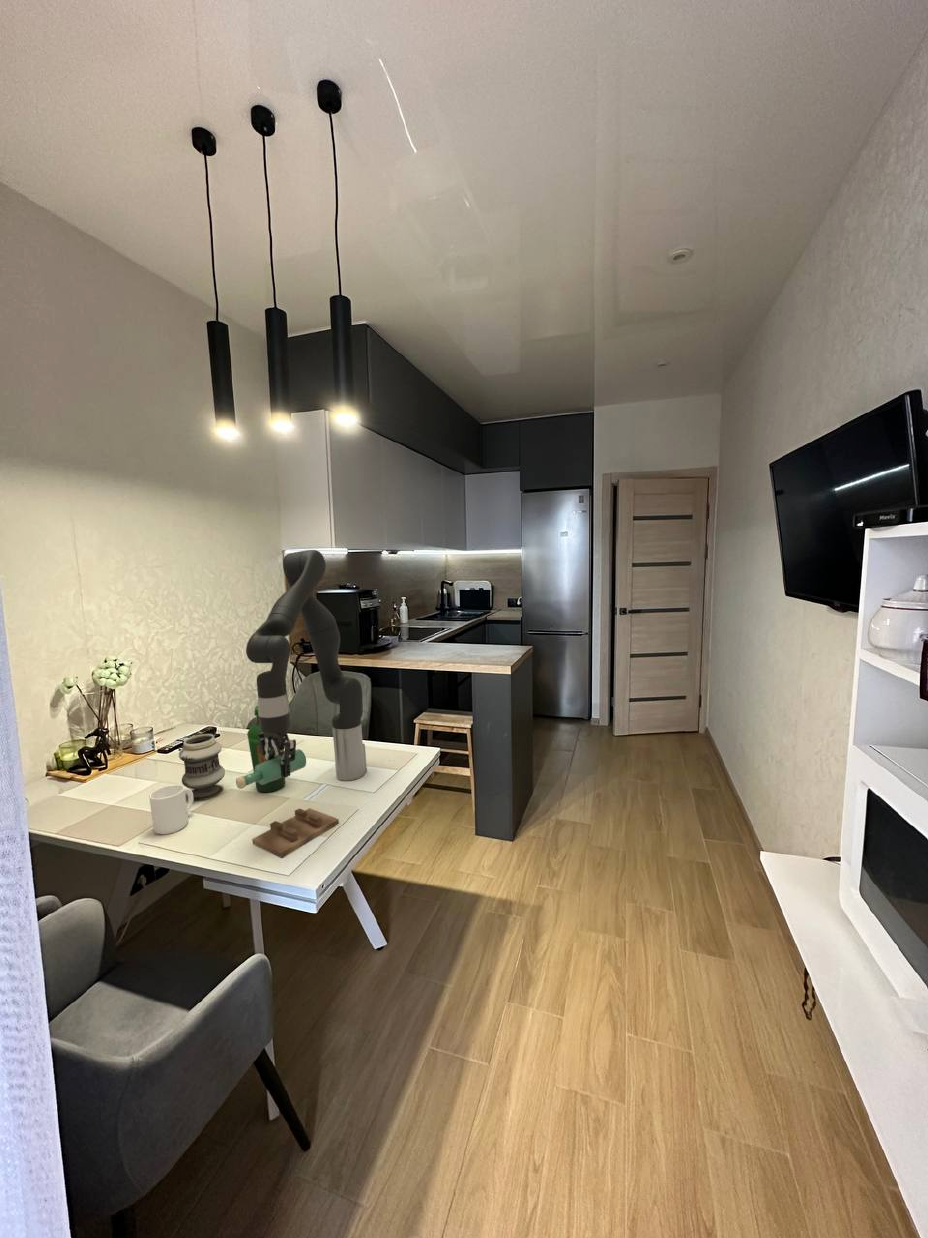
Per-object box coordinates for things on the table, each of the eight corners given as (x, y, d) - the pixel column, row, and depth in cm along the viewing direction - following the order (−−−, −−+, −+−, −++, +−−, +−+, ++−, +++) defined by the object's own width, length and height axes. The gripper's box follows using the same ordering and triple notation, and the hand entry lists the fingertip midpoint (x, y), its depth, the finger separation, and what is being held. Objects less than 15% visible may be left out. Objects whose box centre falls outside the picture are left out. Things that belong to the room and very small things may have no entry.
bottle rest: (310, 812, 142) (308, 800, 141) (338, 823, 135) (337, 810, 134) (252, 843, 127) (251, 830, 126) (281, 858, 120) (280, 844, 120)
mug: (184, 811, 146) (179, 777, 144) (206, 814, 143) (202, 780, 142) (146, 833, 134) (141, 797, 133) (169, 837, 132) (165, 800, 130)
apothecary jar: (177, 804, 149) (170, 747, 147) (192, 786, 161) (186, 733, 159) (219, 800, 151) (213, 743, 149) (231, 782, 163) (226, 729, 161)
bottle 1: (276, 796, 152) (268, 707, 149) (245, 794, 154) (236, 707, 151) (295, 780, 162) (287, 697, 159) (265, 779, 165) (257, 696, 161)
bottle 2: (295, 765, 138) (293, 747, 137) (307, 769, 135) (305, 751, 134) (234, 791, 124) (232, 771, 123) (245, 796, 120) (243, 775, 120)
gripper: (303, 712, 128) (308, 775, 130) (271, 704, 136) (276, 763, 138) (277, 720, 122) (283, 786, 124) (245, 711, 130) (251, 773, 132)
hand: (279, 773), depth 131 cm, fingers closed on bottle 2, 5 cm apart
